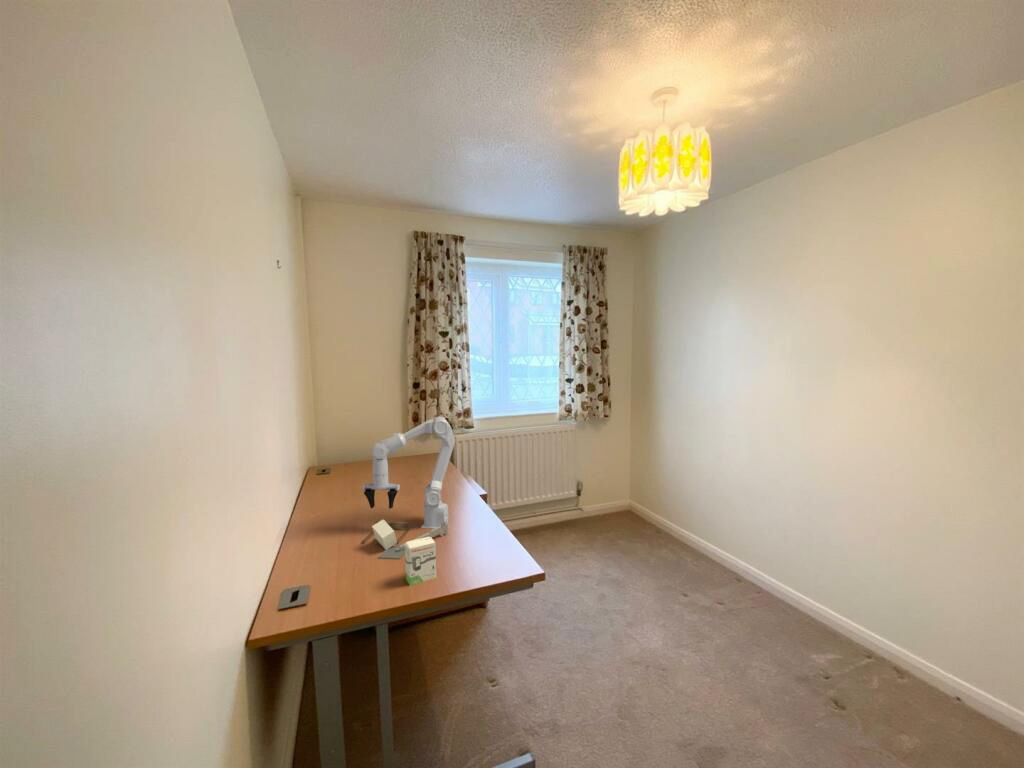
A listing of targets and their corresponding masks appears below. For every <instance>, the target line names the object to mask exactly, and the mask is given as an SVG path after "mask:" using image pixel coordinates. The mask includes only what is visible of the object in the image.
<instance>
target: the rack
mask: <svg viewBox="0 0 1024 768" xmlns="http://www.w3.org/2000/svg"><path fill="white" fill-rule="evenodd" d="M378 522H379V521H375V523H374V525H375V524H376V523H378ZM385 522H386V523H387V524H388V525H389V526H390V527H391V528H392V529H393V530H394V531H404V532H403V533H402V534H401V535H400V536H399V538H398V539H396V540H397V543H396V544H395V545H398V544H400V542H402V540H403V538H405V536H406V534H408V532H409V531H410V530H411V529H410V528H411V527H410V522H408V521H407V522H405V521H404V522H403V521H385ZM373 535H374V531H373V530H372V531H371V532H370V533H369V534H368V535H367V536H366V537H365V538H364V539H362V541H361V542H362V544H366V542H367V541H369V540H370V538H371V537H372V536H373Z"/></svg>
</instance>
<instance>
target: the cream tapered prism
mask: <svg viewBox="0 0 1024 768" xmlns="http://www.w3.org/2000/svg"><path fill="white" fill-rule="evenodd" d="M377 522H378V523H376V524H375V523H374V524H373V525H372V526H371V527H372V531H374V534H373V535H374V539H377V540H378V542H379V543H378V544H379V545H381V546H382V548H383V549H384V550H387V549H389V548H390V547H392V546H396V545H397V544H396V543H397V540H398V539H397V536H396V532H395V530H393V529H392V528H391V527H390V526H389V525H388V524H387V523H386V522H387V521H386V520H385V519H381V520H380V521H377Z"/></svg>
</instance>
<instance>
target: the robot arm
mask: <svg viewBox="0 0 1024 768" xmlns="http://www.w3.org/2000/svg"><path fill="white" fill-rule="evenodd" d="M433 432H434V433H435V434H436V435H437V436H438V437H439V439H440V440H441V441H442V443H441V446H440V449H439V452H438V455H437V459H436V463H435V466H434V468H433V472H432V476H431V478H430V480H429V483H428V484H427V486H426V487H425V489H424V491H423V493H424V502H423V520H424V521H423V522H424V523H423V524H422V525H421V527H420V529H431V530H432V529H434V528H437V527H439V526H442V524H443V523H444V522H446V524H447V525H448V522H449V505H448V504H447V503H443V501H442V493H441V492H442V489H443V488H442V487H443V483H444V479H445V476H446V472H447V469H448V466H449V463H450V459H451V456H452V452H453V450H454V448H455V447H454V446H455V444H456V439H455V436H454V432H453V429H452V426H451V425H450V423H449V422H448V420H447V419H446V418H445V417H443V416H441V415H440V416H439V415H437V416H436V417H434V418H431V419H428V420H426V421H424V422H423V423H421V424H419V425H417V426H416V427H413V428H412V429H410V430H408V431H407V432H405V433H400V432H398V433H396V432H394V433H393V434H392V435H391V436H390V437H388V438H386V439H381V440H380V442H377V443H375V444H374V445H373V447H372V449H371V456H372V483H364V484H362V486H361V487H362V488H361V489H362V491H363V495H364V496H365V497H366V499H367V501H368V505H369V507H370V509H373V508H374V507H375V502H376V501H375V492H376V490H378V491H379V490H380V491H381V490H382V491H383V490H384V491H387V492H386V493H387V497H388V507H389V509H392V508H393V507H394V502H395V500H396V499H395V498H396V496H397V494H398V491H399V490H400V487H401V485H400V483H399V484H398V483H393V482H392V483H391V482H389V464H388V463H389V462H388V454H392V453H394V452H395V451H398V450H400V449H402V448H403V447H405V446H406V444H407V442H409V441H410V440H412V439H414V438H417V437H419V436H422V435H423V434H430V435H431V434H433ZM441 523H442V524H441Z"/></svg>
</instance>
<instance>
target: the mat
mask: <svg viewBox="0 0 1024 768" xmlns="http://www.w3.org/2000/svg"><path fill="white" fill-rule="evenodd" d="M399 546H400V545H393V546H392V547H390V548H389V549H387V550H385V549H384V550H383V551H382V553H380V554H379V556H378V557H377V559H378V560H382V559H383V560H401V559H402V558H403V556H405V549H403V550H399V551H396V548H399Z"/></svg>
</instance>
